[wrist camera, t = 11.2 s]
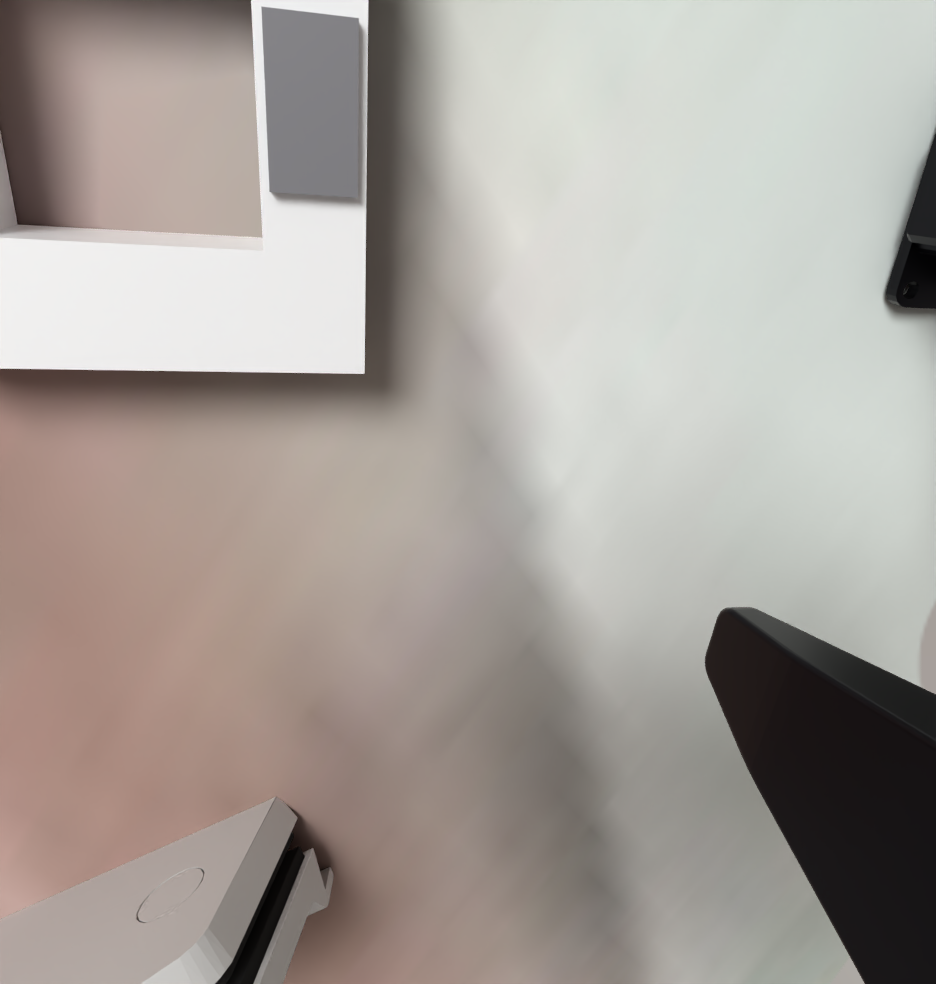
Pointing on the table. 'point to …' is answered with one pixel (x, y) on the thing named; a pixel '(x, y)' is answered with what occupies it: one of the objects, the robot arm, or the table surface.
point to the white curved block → (178, 912)
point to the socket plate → (222, 238)
